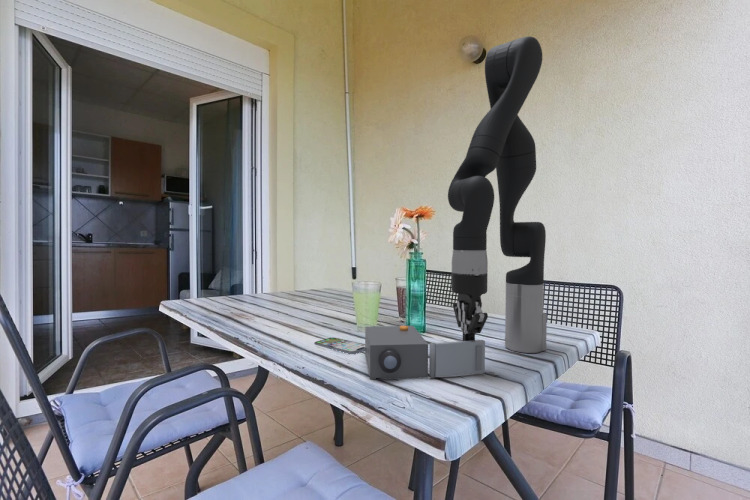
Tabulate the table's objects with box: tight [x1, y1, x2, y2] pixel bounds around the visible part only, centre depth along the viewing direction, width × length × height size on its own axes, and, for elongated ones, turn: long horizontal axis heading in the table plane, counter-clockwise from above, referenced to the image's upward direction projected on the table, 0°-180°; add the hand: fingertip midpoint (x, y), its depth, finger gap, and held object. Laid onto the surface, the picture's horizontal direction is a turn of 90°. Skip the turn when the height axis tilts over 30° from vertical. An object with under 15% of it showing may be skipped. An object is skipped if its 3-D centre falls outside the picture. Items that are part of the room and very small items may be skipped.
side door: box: [428, 339, 486, 379], centre depth 75 cm, size 2×12×7 cm, turn 102°
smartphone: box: [314, 337, 365, 355], centre depth 96 cm, size 7×1×15 cm
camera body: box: [364, 325, 429, 380], centre depth 81 cm, size 12×17×8 cm
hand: (468, 350), depth 78 cm, fingers closed
